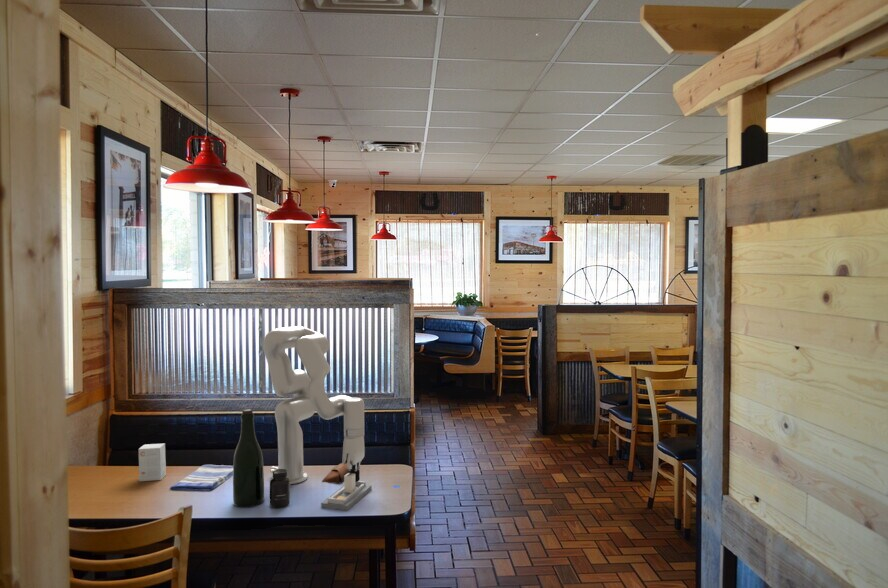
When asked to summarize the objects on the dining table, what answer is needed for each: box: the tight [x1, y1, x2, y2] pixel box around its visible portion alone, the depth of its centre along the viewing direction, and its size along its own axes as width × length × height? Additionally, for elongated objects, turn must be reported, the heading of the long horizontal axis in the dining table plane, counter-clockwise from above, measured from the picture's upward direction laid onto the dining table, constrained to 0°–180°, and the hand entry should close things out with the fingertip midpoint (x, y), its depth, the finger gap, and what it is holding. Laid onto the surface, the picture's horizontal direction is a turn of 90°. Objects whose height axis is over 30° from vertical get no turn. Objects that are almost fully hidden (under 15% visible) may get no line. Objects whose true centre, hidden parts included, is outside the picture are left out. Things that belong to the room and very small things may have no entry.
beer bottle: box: [232, 408, 265, 508], centre depth 198 cm, size 10×10×33 cm
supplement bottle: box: [269, 469, 291, 509], centre depth 195 cm, size 7×7×12 cm
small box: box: [137, 443, 167, 482], centre depth 222 cm, size 8×6×13 cm
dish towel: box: [169, 464, 233, 492], centre depth 221 cm, size 17×24×3 cm
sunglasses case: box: [321, 462, 350, 484], centre depth 225 cm, size 18×7×7 cm
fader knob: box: [343, 472, 356, 493], centre depth 203 cm, size 3×3×6 cm
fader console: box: [320, 480, 372, 511], centre depth 201 cm, size 20×10×3 cm, turn 163°
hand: (354, 480), depth 207 cm, fingers closed
